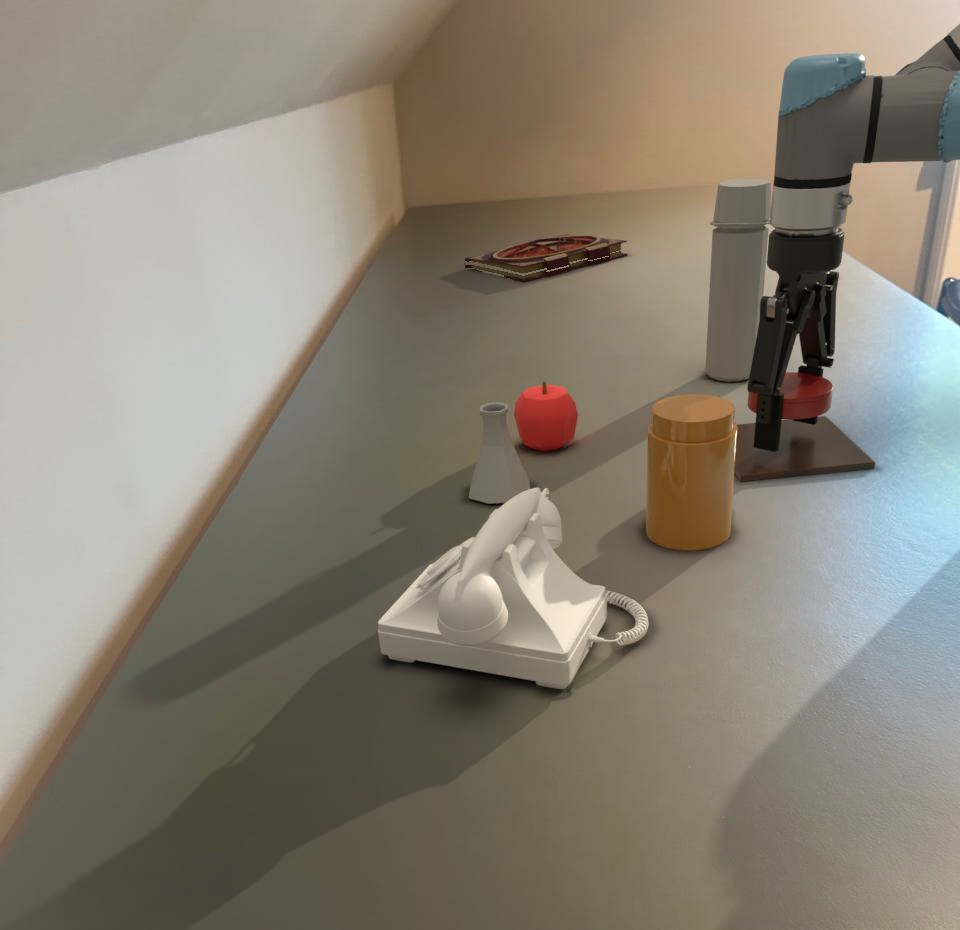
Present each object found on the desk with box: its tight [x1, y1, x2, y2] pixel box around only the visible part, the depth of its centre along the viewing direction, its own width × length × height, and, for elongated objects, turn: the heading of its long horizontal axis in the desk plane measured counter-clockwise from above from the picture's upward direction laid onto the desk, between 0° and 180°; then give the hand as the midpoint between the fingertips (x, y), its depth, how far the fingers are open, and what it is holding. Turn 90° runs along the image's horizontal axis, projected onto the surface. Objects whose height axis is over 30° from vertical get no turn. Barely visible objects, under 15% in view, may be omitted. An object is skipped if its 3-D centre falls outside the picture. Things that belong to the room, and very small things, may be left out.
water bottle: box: [705, 178, 772, 383], centre depth 131 cm, size 9×8×25 cm
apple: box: [513, 380, 579, 453], centre depth 119 cm, size 8×8×8 cm
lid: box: [747, 371, 834, 420], centre depth 110 cm, size 9×9×2 cm
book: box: [464, 234, 628, 283], centre depth 207 cm, size 28×21×5 cm
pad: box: [735, 415, 876, 483], centre depth 114 cm, size 15×15×1 cm
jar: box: [645, 393, 738, 552], centre depth 95 cm, size 8×8×13 cm
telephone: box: [377, 487, 649, 690], centre depth 82 cm, size 25×21×12 cm
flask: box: [468, 402, 531, 505], centre depth 107 cm, size 7×7×10 cm
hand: (785, 434), depth 113 cm, fingers closed on lid, 9 cm apart
